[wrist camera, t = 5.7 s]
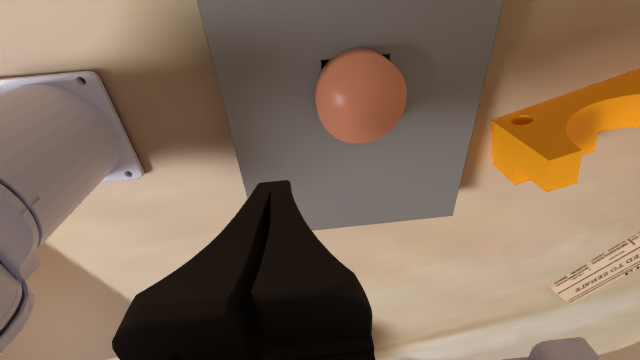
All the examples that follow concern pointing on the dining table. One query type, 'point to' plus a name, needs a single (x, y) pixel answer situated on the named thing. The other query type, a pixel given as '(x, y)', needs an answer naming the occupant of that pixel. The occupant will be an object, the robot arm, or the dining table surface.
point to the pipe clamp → (563, 131)
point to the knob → (360, 95)
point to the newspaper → (600, 271)
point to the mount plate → (301, 111)
